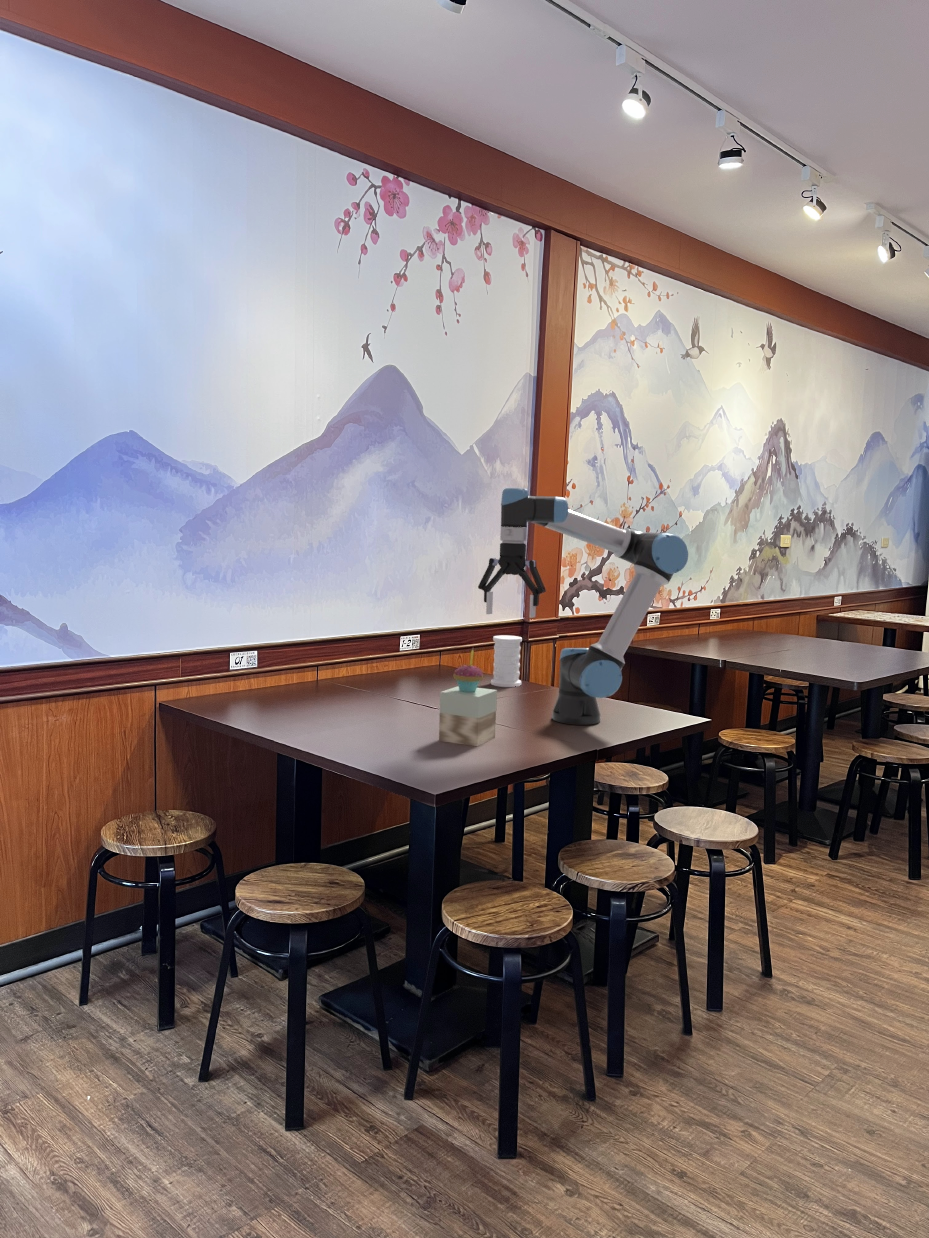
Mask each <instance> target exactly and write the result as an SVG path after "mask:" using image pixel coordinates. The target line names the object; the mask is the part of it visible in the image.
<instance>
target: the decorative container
mask: <svg viewBox="0 0 929 1238" xmlns="http://www.w3.org/2000/svg"><path fill="white" fill-rule="evenodd" d="M492 637H493V638H492V640H493V642H494V645H493V650H494V654H493V659H494V661H493V665H492V666H493V671H492V674H493V679H491V680H490V685H492V686H495V687H501V688H514V687H515V686H516V687H520V685H522V680H521V679H519V678H520V675H521V673H520V667H521V664H520V660H521V654H520V652H521V649H522V647H521V643H522V641H523V638H522V637H521V636H516V635H503V634H502V635H494V636H492ZM516 687H515V688H516Z"/></svg>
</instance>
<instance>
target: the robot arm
mask: <svg viewBox="0 0 929 1238" xmlns="http://www.w3.org/2000/svg"><path fill="white" fill-rule="evenodd" d="M501 493H502V494H501V502H500V508H501V510H500V534H499V535H500V538H499V540H500V541H501V543H499V558H496V557H491V558H490V557H489V559H488V565H487V568H486V569H485V572H484V573H483V575H482V578H481V580H480V582H479V584H478V586H477V588H478V589H479V590H482V591H483V602H484V603H485V604H486V609H485V610H486V611H485V614H486V615H492V614H493V605H494V604H493V602H494V600H493V599H494V591H492V589H493V588H494V587H495V585H497V583H499V581H500V580H501V578H502V577H503V576H505V575H512V576H513V575H514V576H519V577H520V578H521V579H522V580H523V582H524V583H525V585H526V586H527V587H528V589H529V590H530V591H531V593H532V594H530V595H529V618H530V619H531V618H536V613H537V612H536V611H537V610H536V607H537V606H539V605H540V595H541V594H543V593H546V591H547V589H546V587H545V585H544V581H542V577H541V575H540V573H539V571H538V569H537V560H535V559H530V560H527V559H526V556H527V545H526V543H525V542H526V541H527V532H528V531H527V530H528V528H527V527H528V523H532V524H536V525H538V526H541V527H543V528H545V529H549V530H552V531H555V532H558V533H559V534H563V535H566V536H568V537H571V538H573V539H576V540H579V541H582V542H584V543H587V544H590V545H592V546H595V547H598V548H601V549H602V550H606V551H608V552H612V553H613V555H614V557H616V558H618V559H621V560H624V561H625V562H628V563H629V564H632V565H633V569H634V573H635V574H634V575H633V577H632V579H631V580H630V583H629V584H628V586H627V588H626V589H625V591H624V594H623V595H622V597H621V599H620V601H619V603H618V604H617V607H616V608H615V610H614V612H613V614H612V616H611V618H610V619H609V621H608V623H607V625H606V627H605V629H604V630H603V633H602V634H601V636H600V637H599V640H598V641H597V642H596V643H592V644H591V645H589V647H566V648H562V649H561V650H560V656H559V675H558V677H559V678H558V680H559V682H558V696H557V697H556V698H557V699H556V701H555V704H554V707H553V710H552V715H551V719H552V720H553V721H554V722H557V723H561V724H565V725H566V724H567V725H574V726H583V725H584V726H587V725H588V726H589V725H596V724H599V723H600V722H601V711H600V707H599V704H598V701H597V699H605V698H609V697H610V696H613V695H614V694H616V693H617V691H618V690H619V689H620V687H621V685H622V682H623V675H622V669H623V668H624V666H625V664H626V662H625V658H624V655H625V653H626V651H627V650H628V648H629V646H630V644H631V643H632V640H633V639H634V637H635V635H636V633H637V632H638V630H639V628H640V626H641V624H642V622H643V620H644V619H645V617H646V614H647V613H648V611H649V609H650V608H651V606H652V603H653V602H654V600H655V599H656V597H657V594H658V593H659V590H660V589H661V587H662V586H665V585H668V584H669V583H670V582H671V579H672V578H673V575H675V574H677V573H679V572H680V571H682V570H683V569H684V568H685V567H686V565H687V562H688V559H689V549H688V546H687V544H686V542H685V541H684V540H683V538H681V537H680V536H679V535H676V534H672V533H670V532H652V531H651V532H647V531H639V530H634V529H631V528H628V527H624V528H623V529H622V528H618V527H617V526H614V525H611V524H608V523H605V522H602V521H600V520H597V519H595V518H592V517H589V516H587V515H584V514H581V513H579V512H576V511H573V510H571V509H569V504H568V501H567V498H565V497H562V496H546V495H545V496H541V495H539V496H538V495H535V496H533V495H529V490H528V489H527V488H518V487H517V488H516V487H514V488H513V487H508V488H504V489H502V492H501ZM498 565H499V567H500V568H499V569H498V570H497V572H496V573H495V575H494V576H493V577H492V574H493V573H494V570H495V568H496V567H497V566H498ZM526 566H527V567H528V569H529V571H530V574H531V575H532V578H533V580H532V579H531V577H530V576H529V574H528V572H527V570H526V569H525V568H526ZM491 577H492V578H491ZM490 578H491V579H490Z"/></svg>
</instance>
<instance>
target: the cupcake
mask: <svg viewBox="0 0 929 1238" xmlns="http://www.w3.org/2000/svg"><path fill="white" fill-rule="evenodd" d="M473 659H474V648H472V650H471V652H470V661H469V664H467V665H466V664H462V665H460V666H458V667H457V668H456V669H454V671H453V676H452V677H453V679H454V680H456V682H457V686H459V690H460V691H463V692H474V691H476V688H478V685H479V683H480V681H482V680H483V677H484V671H482V670H481V668H479V667H477V666H476V665H473Z"/></svg>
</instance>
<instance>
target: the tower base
mask: <svg viewBox="0 0 929 1238" xmlns="http://www.w3.org/2000/svg"><path fill="white" fill-rule="evenodd" d="M496 715H497V711H495V712H492V713H490V714H487V715H485V716H482V717H480V718H472V717H465V716H458V715H451V714H444V713H440V712H439V723H438V724H439V726H438V727H439V729H438V741H439V742H446V743H453V744H459V745H466V746H473V747H479V746H481V745H483V744H485V743H487V742H489V741H491V740H493V739H495V738H496V725H497V724H496V723H497V722H496V721H497V716H496Z"/></svg>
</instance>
